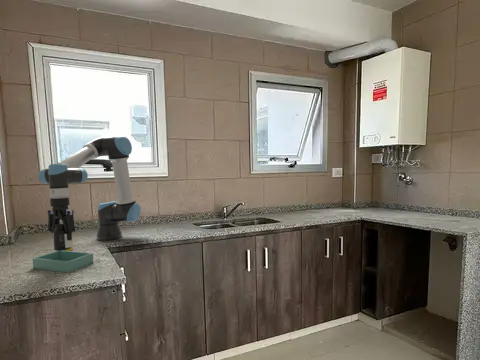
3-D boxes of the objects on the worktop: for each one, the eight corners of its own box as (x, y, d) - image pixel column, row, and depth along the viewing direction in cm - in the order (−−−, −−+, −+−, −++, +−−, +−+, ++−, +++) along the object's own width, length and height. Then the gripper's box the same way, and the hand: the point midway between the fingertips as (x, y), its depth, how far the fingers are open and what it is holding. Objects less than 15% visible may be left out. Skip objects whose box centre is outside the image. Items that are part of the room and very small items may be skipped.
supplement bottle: (74, 246, 141) (72, 221, 141) (65, 250, 134) (64, 224, 134) (59, 247, 141) (58, 222, 141) (50, 251, 134) (49, 224, 134)
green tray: (60, 259, 148) (59, 250, 148) (93, 262, 141) (92, 253, 141) (33, 268, 136) (32, 258, 135) (68, 272, 128) (67, 262, 128)
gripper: (36, 198, 137) (39, 247, 138) (68, 198, 130) (71, 250, 131) (51, 196, 144) (54, 243, 145) (82, 196, 137) (85, 245, 138)
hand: (62, 246), depth 138 cm, fingers closed on supplement bottle, 7 cm apart
